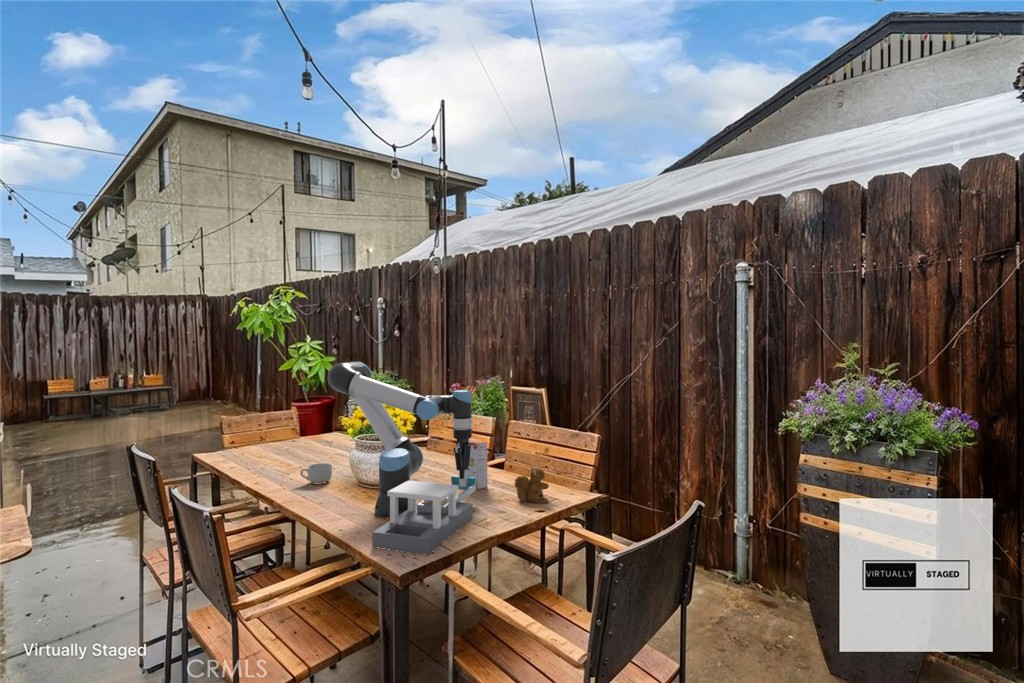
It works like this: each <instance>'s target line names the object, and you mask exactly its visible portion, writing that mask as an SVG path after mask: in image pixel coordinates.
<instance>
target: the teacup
mask: <svg viewBox="0 0 1024 683" xmlns="http://www.w3.org/2000/svg"><path fill="white" fill-rule="evenodd" d="M304 472H306V473H307V475H304ZM299 473H300V476H301V477H302V478H303V479H306V481H308V482H310V483H312V484H313V483H323V482H327V481H328V482H329V481H331V479H332V476H333V474H332V473H333V465H332V464H330V463H326V462H323V463H321V462H320V463H312V464H310V465H308V466H307V468H305V467H304V468H302V469H301V470H300V472H299ZM328 482H327V483H328Z"/></svg>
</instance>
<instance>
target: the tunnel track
mask: <svg viewBox="0 0 1024 683" xmlns="http://www.w3.org/2000/svg"><path fill="white" fill-rule="evenodd" d="M458 490H459V489H458V485H451V484H450V483H449V484H448V483H440V482H438V483H437V482H427V481H426V482H425V481H420V480H419V481H417V480H410V481H406V482H404V483H402V484H401V485H399V486H397V487H395V488H393V489H391V490H389V491H387V496H390V518H389V521H387V522H386V523H384V524H383V525H382V526H380V527H378V528H377V529H375V530H373V531H371V532H372V534H371V536H372V537H371V538H372V545H371V546H372V547H379V548H385V549H384V550H386V549H390V550H389V551H393V550H398V551H397V552H400V551H404V552H403V553H407V552H411V553H410V554H414V553H418V554H417V555H421V554H426V555H425V556H429V554H430V553H431V552H432V551H433V550H434V551H435V550H436V549H437V547H438V546H439V545H440V544H441V543H442V542H443V541H444V540H446V539H447V538H448V537H449V536H450V537H451V536H452V535H453V534H455V533H456V532H457V531H458V530H459V529H461V527H463V526H464V525H465V524H467V522H468V521H469V520H470V518H471V519H472V518H473V516H474V515H473V512H474V510H473V508H474V507H473V506H474V505H473V504H474V503H473V502H462V501H461V502H460V503H458V504H457V505H456V497H457V492H458ZM398 497H402V498H408V510H406V511H405V512H403V513H402V514H400V515H398ZM445 498H448V512H447V513H445V514H441V501H442V500H444V499H445ZM416 500H421V501H419V502H418V503H416ZM423 500H431V501H433V513H426V512H417V504H419V503H420V502H422V501H423ZM463 524H464V525H463ZM462 525H463V526H462ZM456 530H457V531H456ZM455 531H456V532H455ZM454 532H455V533H454ZM450 537H449V538H450ZM449 538H448V539H449ZM448 539H447V540H448ZM447 540H446V541H447ZM444 542H445V541H444ZM444 542H443V543H444ZM443 543H442V544H443ZM442 544H441V545H442ZM441 545H440V546H441ZM440 546H439V547H440ZM439 547H438V548H439ZM379 548H378V549H379ZM435 548H436V549H435ZM434 551H433V552H434ZM433 552H432V553H433ZM432 553H431V554H432ZM431 554H430V555H431Z"/></svg>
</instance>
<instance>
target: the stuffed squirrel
mask: <svg viewBox="0 0 1024 683" xmlns="http://www.w3.org/2000/svg"><path fill="white" fill-rule="evenodd" d="M545 474H546V473H545V471H544V470H542V469H541V468H538V467H531V468H530V478H528V477H527V476H526V475H520V476H517V477H516V479H514V487H515V488H516V495H517V498H518V500H520V501H521V502H522V501H526V502H530V501H531V502H530V503H534V502H535V503H534V504H548V503H549V499H548V498H547V497H544V492H543V490H548V489H549V484H548V483H547V482H544V481H543V480H544V479H545V480H546V475H545Z"/></svg>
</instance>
